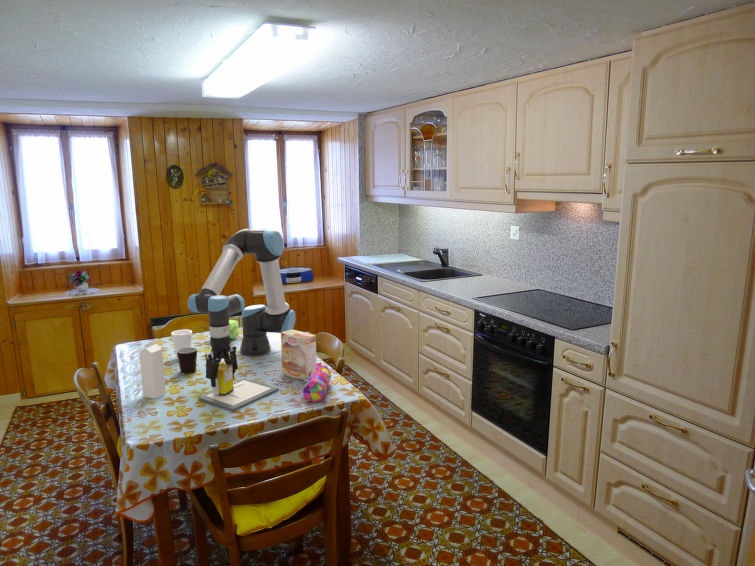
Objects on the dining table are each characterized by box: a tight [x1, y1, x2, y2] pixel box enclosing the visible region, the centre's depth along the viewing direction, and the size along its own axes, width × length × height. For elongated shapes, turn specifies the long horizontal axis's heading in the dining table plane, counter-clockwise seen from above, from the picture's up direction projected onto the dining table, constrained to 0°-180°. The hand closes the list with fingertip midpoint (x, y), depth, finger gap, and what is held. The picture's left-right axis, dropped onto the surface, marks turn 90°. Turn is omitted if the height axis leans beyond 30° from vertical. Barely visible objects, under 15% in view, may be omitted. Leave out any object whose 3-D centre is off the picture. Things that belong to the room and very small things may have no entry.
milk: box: [139, 340, 167, 400], centre depth 208 cm, size 6×6×22 cm
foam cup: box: [170, 329, 193, 360], centre depth 253 cm, size 10×9×13 cm
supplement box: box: [216, 362, 234, 396], centre depth 209 cm, size 6×6×11 cm
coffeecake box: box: [280, 328, 317, 382], centre depth 229 cm, size 15×7×20 cm, turn 53°
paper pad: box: [197, 378, 280, 412], centre depth 211 cm, size 24×20×1 cm
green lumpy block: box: [229, 319, 240, 340], centre depth 284 cm, size 15×14×11 cm
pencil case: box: [302, 362, 332, 403], centre depth 212 cm, size 22×9×9 cm, turn 0°
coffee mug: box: [177, 346, 198, 375], centre depth 237 cm, size 12×9×10 cm
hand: (223, 390), depth 210 cm, fingers closed on supplement box, 7 cm apart
